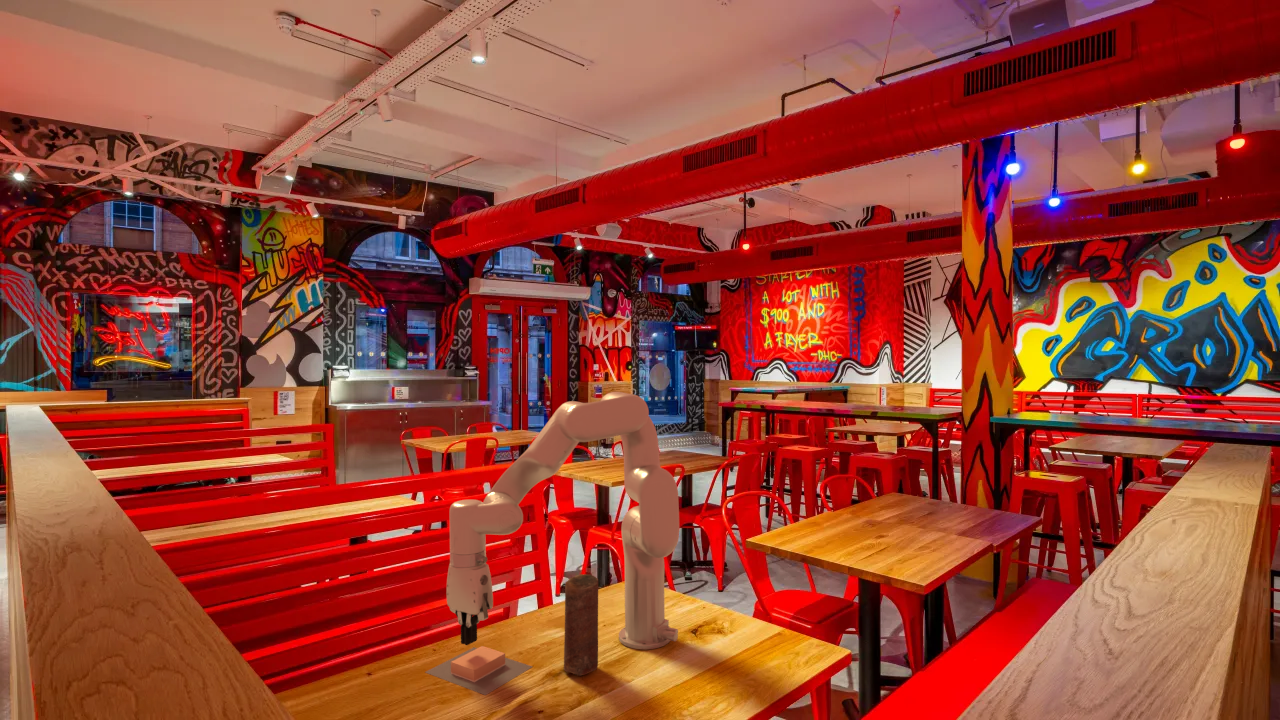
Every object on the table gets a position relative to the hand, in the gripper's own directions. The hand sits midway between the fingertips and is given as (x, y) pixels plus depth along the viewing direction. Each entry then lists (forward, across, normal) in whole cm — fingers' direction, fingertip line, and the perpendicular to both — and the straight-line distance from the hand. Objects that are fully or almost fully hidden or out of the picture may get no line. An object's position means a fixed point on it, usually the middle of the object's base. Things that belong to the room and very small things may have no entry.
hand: (469, 642), depth 145 cm
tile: (+4, +1, 0) cm, 4 cm away
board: (+6, -3, 0) cm, 7 cm away
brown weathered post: (+6, -21, -12) cm, 25 cm away
